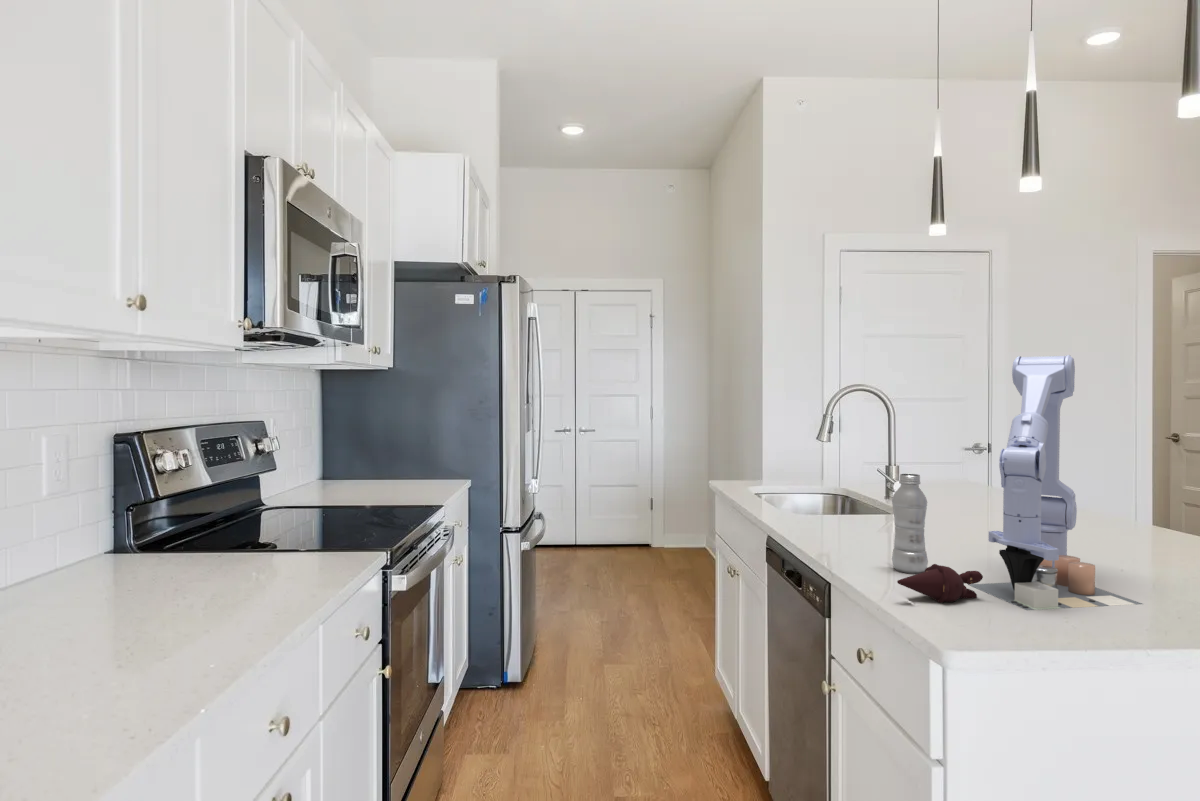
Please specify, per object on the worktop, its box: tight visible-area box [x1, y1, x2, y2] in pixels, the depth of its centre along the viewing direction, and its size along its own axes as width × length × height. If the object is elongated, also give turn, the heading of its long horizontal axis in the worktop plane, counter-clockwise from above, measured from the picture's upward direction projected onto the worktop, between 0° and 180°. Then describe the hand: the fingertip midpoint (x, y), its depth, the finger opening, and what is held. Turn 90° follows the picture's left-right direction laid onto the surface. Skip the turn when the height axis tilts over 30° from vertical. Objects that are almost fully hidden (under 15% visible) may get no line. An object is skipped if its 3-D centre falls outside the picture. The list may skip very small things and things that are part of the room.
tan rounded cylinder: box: [1068, 561, 1096, 595], centre depth 126 cm, size 4×4×5 cm
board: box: [968, 581, 1144, 611], centre depth 126 cm, size 15×22×1 cm
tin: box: [1032, 565, 1058, 589], centre depth 127 cm, size 5×5×4 cm
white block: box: [1015, 582, 1058, 608], centre depth 120 cm, size 4×4×3 cm
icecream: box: [896, 563, 984, 604], centre depth 123 cm, size 7×7×15 cm
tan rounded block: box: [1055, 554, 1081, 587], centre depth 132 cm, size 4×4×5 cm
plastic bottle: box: [891, 473, 929, 575], centre depth 142 cm, size 6×7×20 cm
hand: (1021, 591), depth 123 cm, fingers closed
